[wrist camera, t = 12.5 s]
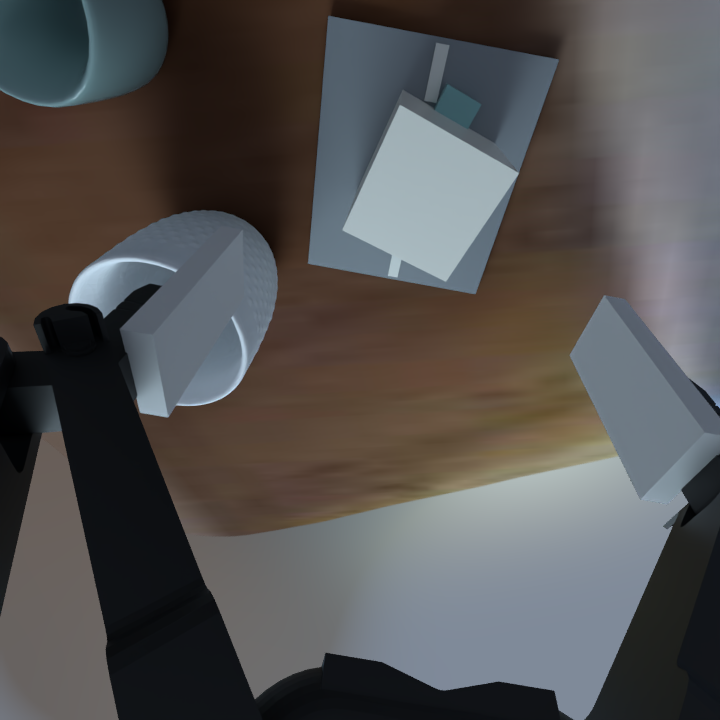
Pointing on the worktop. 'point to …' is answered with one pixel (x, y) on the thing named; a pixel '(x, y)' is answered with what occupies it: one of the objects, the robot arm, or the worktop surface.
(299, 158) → the worktop surface
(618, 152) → the worktop surface
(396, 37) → the post plate
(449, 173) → the grey cube
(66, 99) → the cup
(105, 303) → the mug
